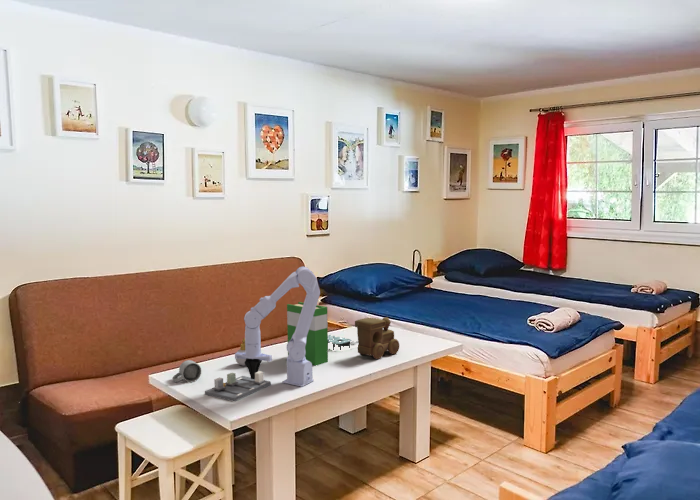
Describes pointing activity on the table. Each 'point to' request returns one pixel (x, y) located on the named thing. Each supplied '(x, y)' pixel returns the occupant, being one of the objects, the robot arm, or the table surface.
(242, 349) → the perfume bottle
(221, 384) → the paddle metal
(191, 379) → the ceramic mug
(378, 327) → the wooden toy train
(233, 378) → the pale mint cube
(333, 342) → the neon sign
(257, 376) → the paddle cream
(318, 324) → the hardback book
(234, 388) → the panel
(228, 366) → the table surface
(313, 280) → the robot arm
